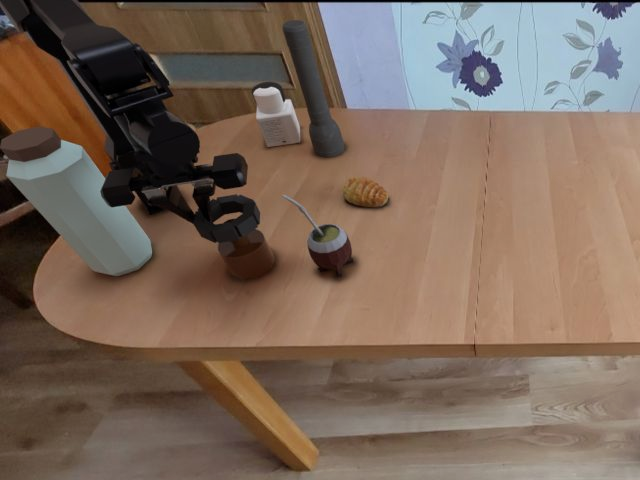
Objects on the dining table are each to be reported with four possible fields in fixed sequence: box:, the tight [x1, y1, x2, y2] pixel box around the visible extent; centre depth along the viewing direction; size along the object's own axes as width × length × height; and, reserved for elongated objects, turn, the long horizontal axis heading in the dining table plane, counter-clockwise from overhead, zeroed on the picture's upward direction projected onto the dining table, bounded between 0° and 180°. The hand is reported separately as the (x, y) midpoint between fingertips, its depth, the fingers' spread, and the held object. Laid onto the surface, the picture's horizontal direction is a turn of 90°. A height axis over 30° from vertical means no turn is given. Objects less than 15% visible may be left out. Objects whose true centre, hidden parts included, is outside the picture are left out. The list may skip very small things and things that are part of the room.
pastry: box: [341, 176, 389, 208], centre depth 98 cm, size 9×7×4 cm
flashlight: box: [282, 19, 346, 158], centre depth 101 cm, size 7×28×7 cm
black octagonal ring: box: [192, 193, 261, 244], centre depth 77 cm, size 9×9×2 cm
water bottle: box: [0, 125, 153, 277], centre depth 76 cm, size 10×10×25 cm
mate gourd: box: [281, 193, 354, 278], centre depth 80 cm, size 8×8×15 cm
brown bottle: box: [217, 218, 276, 280], centre depth 82 cm, size 8×8×10 cm
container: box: [251, 81, 301, 148], centre depth 110 cm, size 8×8×13 cm
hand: (203, 221), depth 76 cm, fingers closed on black octagonal ring, 2 cm apart
